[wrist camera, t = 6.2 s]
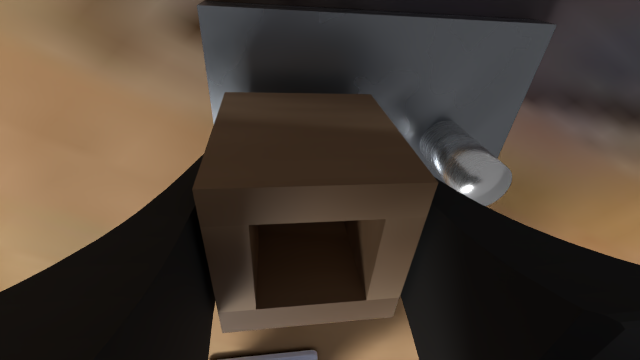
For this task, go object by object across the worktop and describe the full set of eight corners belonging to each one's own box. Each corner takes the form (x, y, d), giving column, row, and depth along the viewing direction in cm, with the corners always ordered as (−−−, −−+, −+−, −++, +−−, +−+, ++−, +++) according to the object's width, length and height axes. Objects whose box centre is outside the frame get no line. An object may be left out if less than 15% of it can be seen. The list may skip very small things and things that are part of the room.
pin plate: (458, 203, 17) (511, 270, 13) (231, 212, 15) (219, 292, 12) (533, 19, 12) (650, 45, 8) (204, 0, 10) (166, 23, 6)
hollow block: (353, 204, 13) (392, 317, 9) (238, 208, 12) (222, 332, 8) (370, 94, 10) (438, 182, 6) (224, 92, 10) (192, 189, 5)
